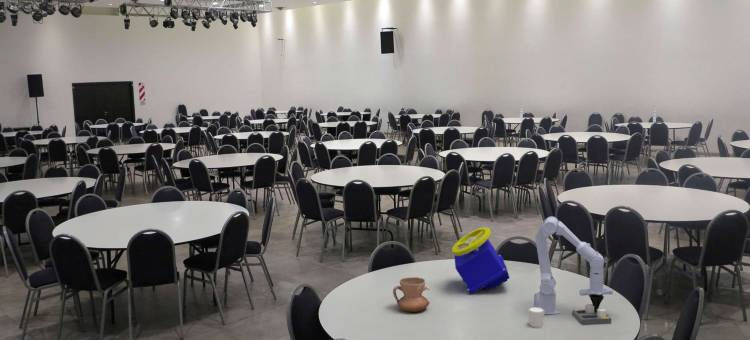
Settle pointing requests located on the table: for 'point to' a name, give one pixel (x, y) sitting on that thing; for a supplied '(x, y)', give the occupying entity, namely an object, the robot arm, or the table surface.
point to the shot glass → (536, 316)
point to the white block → (589, 308)
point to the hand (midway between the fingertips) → (595, 310)
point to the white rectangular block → (601, 313)
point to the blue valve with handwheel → (479, 261)
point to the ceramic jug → (412, 294)
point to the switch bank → (590, 317)
